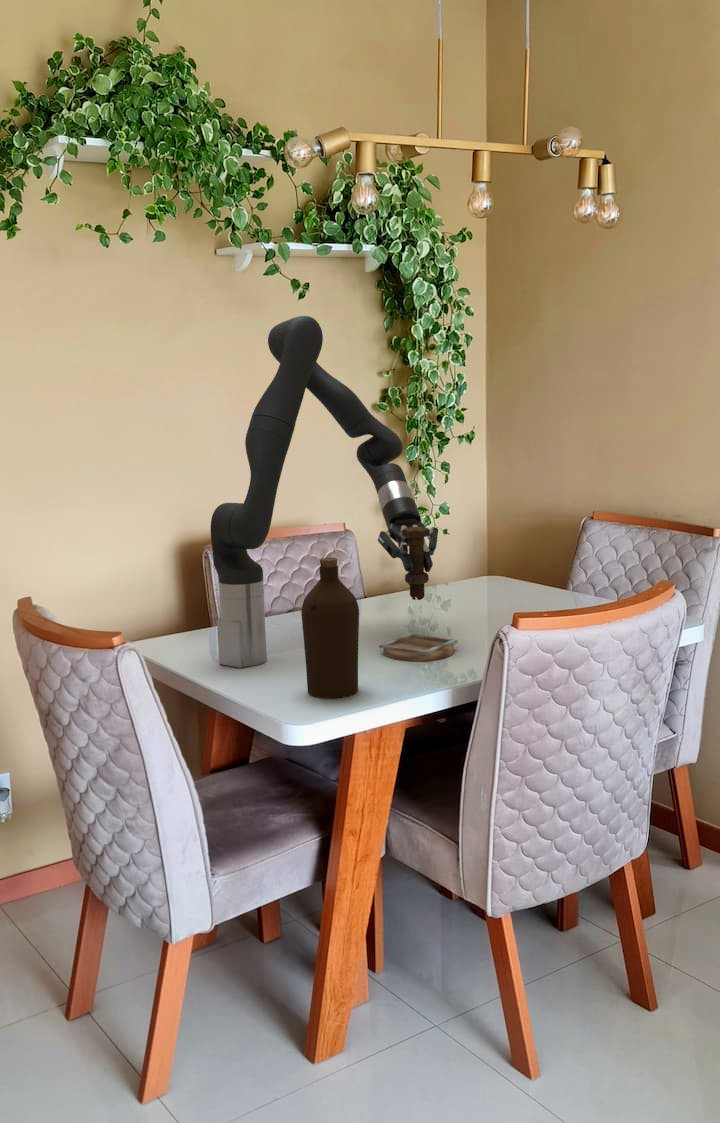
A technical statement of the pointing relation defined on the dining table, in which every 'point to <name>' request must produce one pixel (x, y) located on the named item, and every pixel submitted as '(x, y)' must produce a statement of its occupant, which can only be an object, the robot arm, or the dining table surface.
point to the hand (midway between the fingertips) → (420, 570)
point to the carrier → (418, 648)
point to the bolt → (416, 560)
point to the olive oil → (331, 635)
